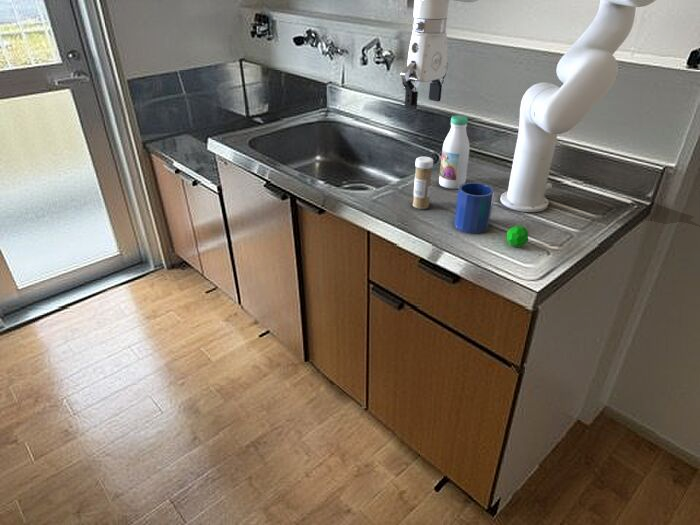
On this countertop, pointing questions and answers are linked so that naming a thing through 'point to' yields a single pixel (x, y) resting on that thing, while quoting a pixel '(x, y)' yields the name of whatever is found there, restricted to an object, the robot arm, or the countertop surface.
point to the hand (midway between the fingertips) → (422, 104)
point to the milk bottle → (455, 154)
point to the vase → (473, 207)
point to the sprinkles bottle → (422, 182)
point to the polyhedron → (517, 236)
